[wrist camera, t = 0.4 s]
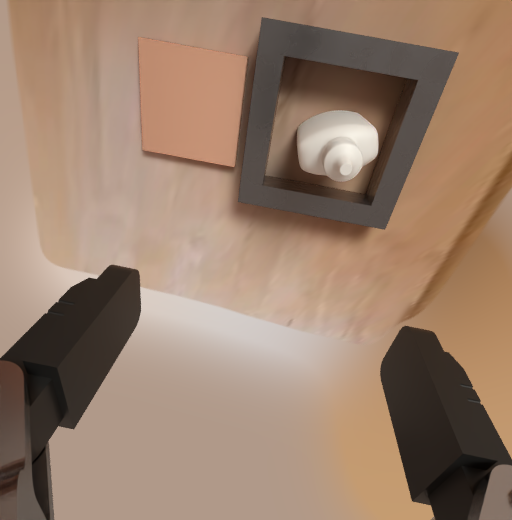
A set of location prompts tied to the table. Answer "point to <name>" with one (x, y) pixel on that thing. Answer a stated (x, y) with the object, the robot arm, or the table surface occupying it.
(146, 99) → the terracotta tile
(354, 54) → the socket plate
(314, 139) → the eye dropper bottle
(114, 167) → the table surface
